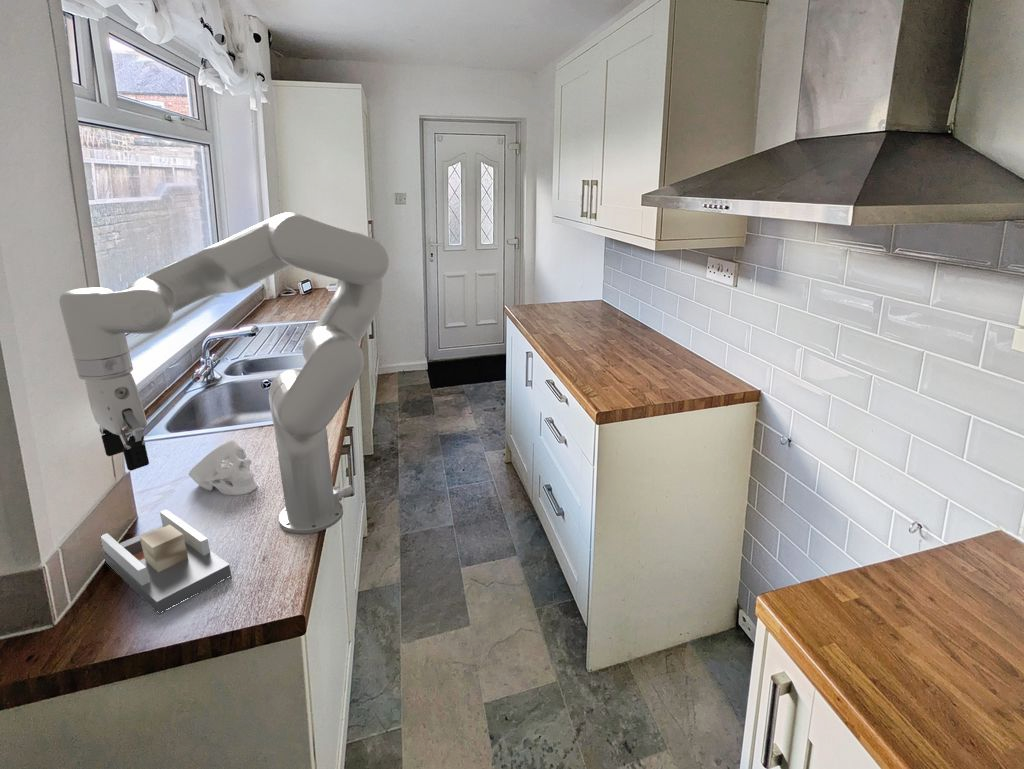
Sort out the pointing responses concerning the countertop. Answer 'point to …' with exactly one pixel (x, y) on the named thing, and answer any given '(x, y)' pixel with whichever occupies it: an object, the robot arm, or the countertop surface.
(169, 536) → the block
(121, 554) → the gray tray
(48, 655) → the countertop surface
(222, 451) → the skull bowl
